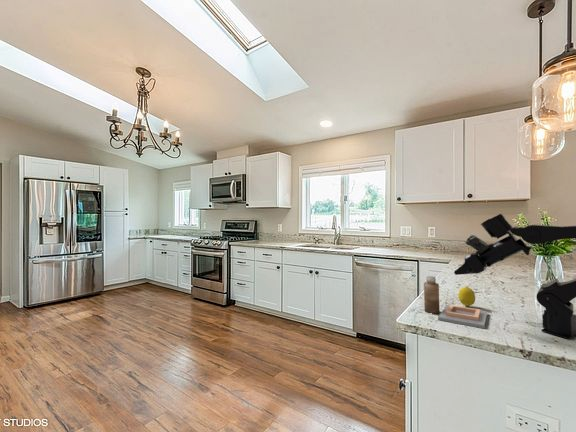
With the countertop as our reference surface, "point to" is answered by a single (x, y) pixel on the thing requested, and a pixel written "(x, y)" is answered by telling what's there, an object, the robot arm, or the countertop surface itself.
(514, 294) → the countertop surface
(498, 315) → the countertop surface
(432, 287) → the pepper mill
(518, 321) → the countertop surface
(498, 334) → the countertop surface
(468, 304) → the lemon
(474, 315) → the display stand
